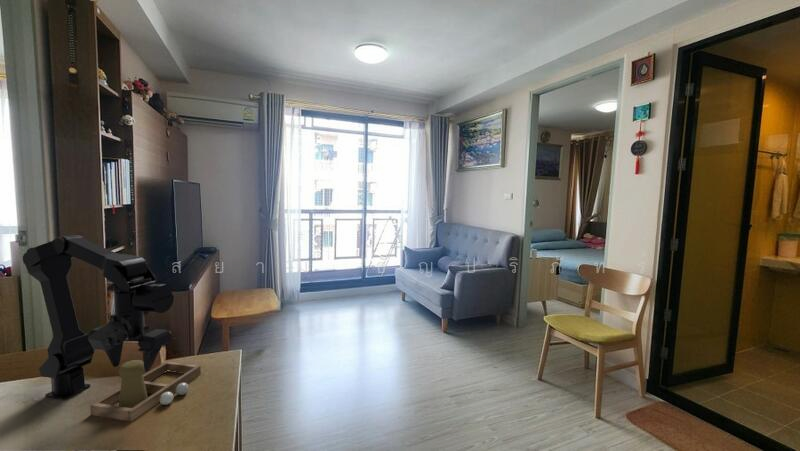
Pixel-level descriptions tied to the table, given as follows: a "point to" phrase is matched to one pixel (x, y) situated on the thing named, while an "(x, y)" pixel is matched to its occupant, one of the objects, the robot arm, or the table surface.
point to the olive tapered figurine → (132, 384)
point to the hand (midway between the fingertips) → (131, 368)
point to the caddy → (157, 389)
